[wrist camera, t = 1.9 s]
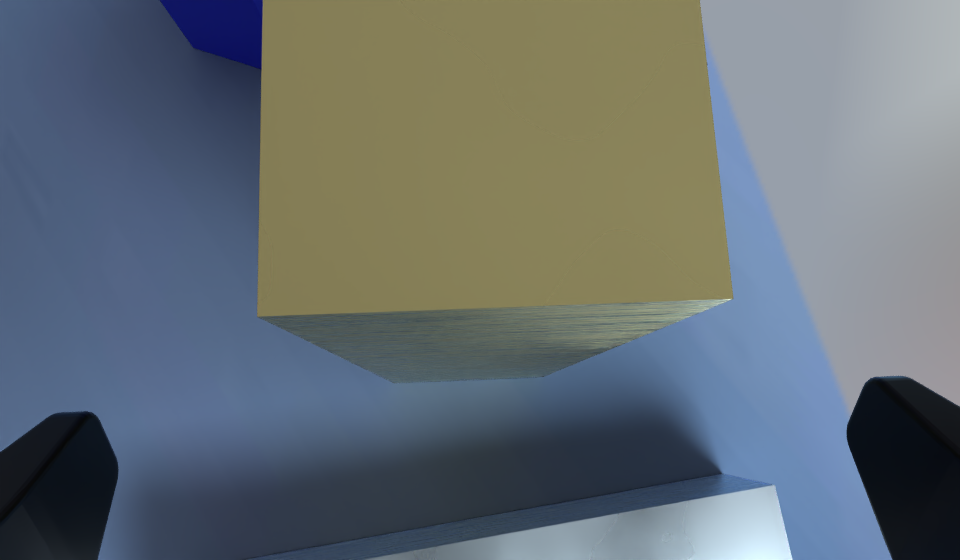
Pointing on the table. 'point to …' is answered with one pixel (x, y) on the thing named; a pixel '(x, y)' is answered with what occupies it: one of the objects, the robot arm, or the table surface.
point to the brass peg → (485, 180)
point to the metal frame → (598, 529)
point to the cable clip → (221, 27)
